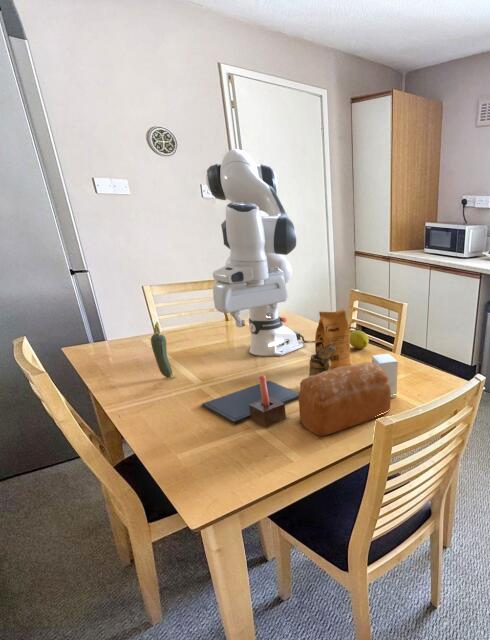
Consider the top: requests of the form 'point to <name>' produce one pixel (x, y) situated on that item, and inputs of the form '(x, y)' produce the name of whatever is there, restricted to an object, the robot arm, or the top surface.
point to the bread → (343, 397)
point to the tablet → (247, 401)
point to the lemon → (358, 339)
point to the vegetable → (161, 352)
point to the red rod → (264, 390)
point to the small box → (388, 370)
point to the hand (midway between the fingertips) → (256, 322)
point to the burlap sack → (321, 360)
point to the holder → (267, 412)
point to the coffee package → (334, 336)
